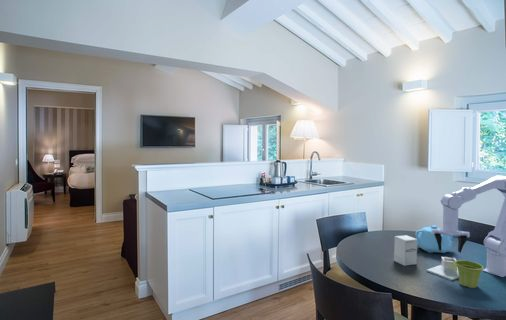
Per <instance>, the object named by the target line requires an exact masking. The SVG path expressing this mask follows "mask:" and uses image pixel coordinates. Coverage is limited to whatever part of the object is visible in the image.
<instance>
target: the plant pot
mask: <svg viewBox="0 0 506 320" xmlns="http://www.w3.org/2000/svg"><path fill="white" fill-rule="evenodd" d="M456 264H457V267H458V273H459V278H458V282H459V284H460V285H461V286H463V287H467V288H468V289H469V288H470V289H476V288H478V285H479V280H480V278H481V277H480V276H481V273H482V272H483V269H484V266H483V264H480V263H478V262H475V261H471V260H466V259H465V260H463V259H462V260H461V259H459V260H456Z"/></svg>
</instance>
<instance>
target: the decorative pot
mask: <svg viewBox="0 0 506 320" xmlns="http://www.w3.org/2000/svg"><path fill="white" fill-rule="evenodd" d="M432 229H442V228H440V227H438V225H430V226H425V227H422V228H421V229H417V230H416V231H415V235H414V236H415V239H417V246H419V248H420V249H422V250H424V251H425V252H427V253H428V254H429V253H430V254H433V253H441V254H446V253H447V252H448V253H449V252H450V251H451V249H452V246H454V242H453V241H452V239H453V237H454V235H442V234H441V237H442V241H441V251H440V250H439V248H438V243H437V240H436V238H435V235H434V234H432Z"/></svg>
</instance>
